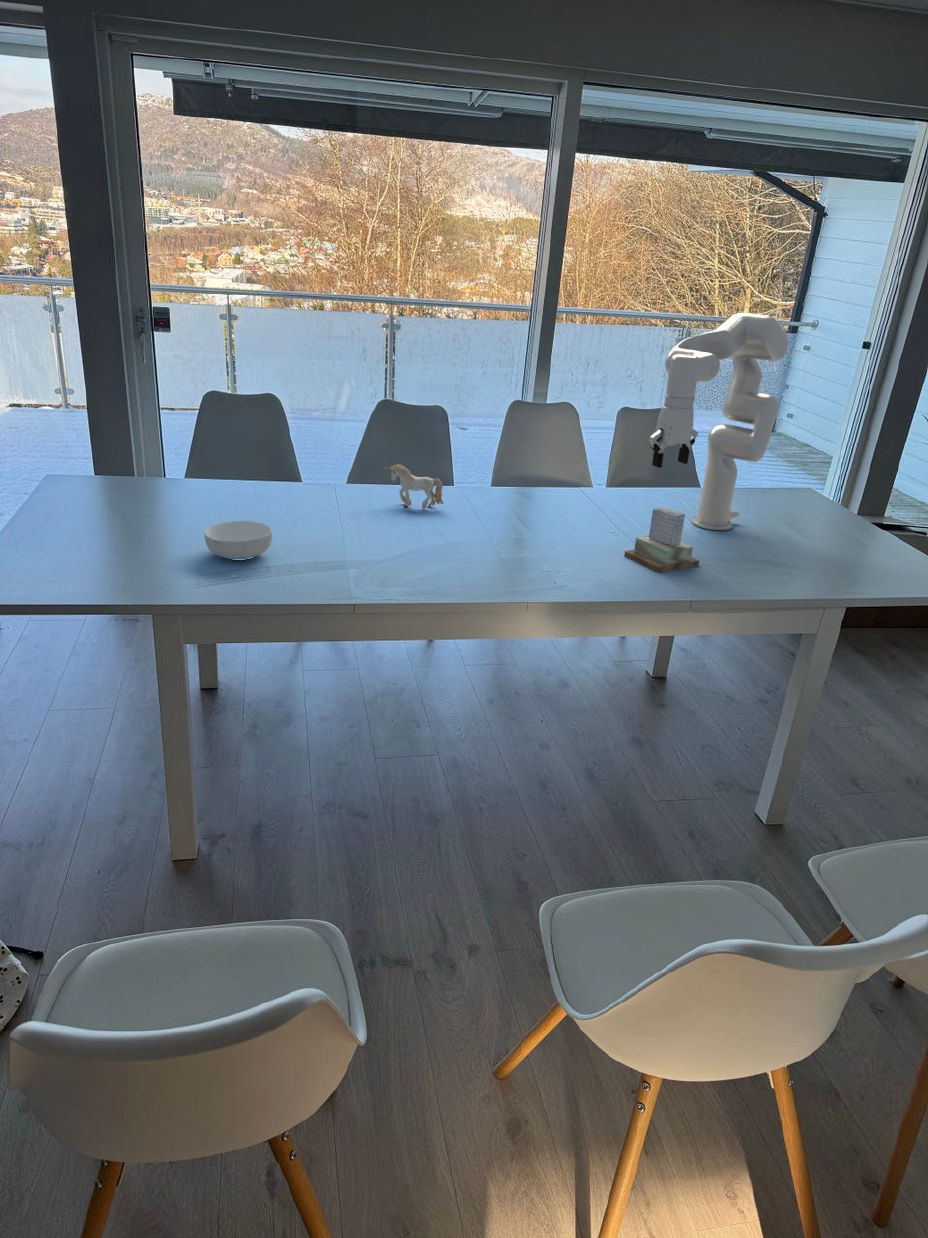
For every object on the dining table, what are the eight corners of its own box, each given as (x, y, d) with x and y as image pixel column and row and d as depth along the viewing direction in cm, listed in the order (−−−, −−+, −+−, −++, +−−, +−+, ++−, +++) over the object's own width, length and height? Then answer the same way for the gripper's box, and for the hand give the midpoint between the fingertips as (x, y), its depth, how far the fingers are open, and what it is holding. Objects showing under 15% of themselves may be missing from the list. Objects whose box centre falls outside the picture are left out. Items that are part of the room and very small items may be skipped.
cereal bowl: (250, 541, 241) (249, 516, 239) (285, 558, 231) (284, 532, 228) (193, 553, 230) (191, 527, 227) (227, 572, 220) (226, 545, 217)
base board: (663, 549, 257) (667, 530, 254) (698, 565, 246) (702, 546, 243) (624, 556, 249) (627, 536, 247) (658, 572, 238) (661, 552, 236)
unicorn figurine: (380, 503, 281) (381, 461, 276) (440, 503, 285) (442, 462, 279) (382, 509, 275) (383, 467, 269) (444, 510, 278) (446, 468, 273)
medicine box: (680, 543, 244) (686, 513, 241) (671, 546, 241) (676, 516, 238) (657, 535, 249) (662, 506, 246) (647, 538, 246) (652, 508, 243)
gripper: (691, 397, 244) (682, 458, 252) (645, 401, 236) (637, 464, 243) (712, 402, 239) (702, 464, 246) (665, 407, 230) (656, 471, 237)
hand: (669, 464), depth 244 cm, fingers open, 9 cm apart
